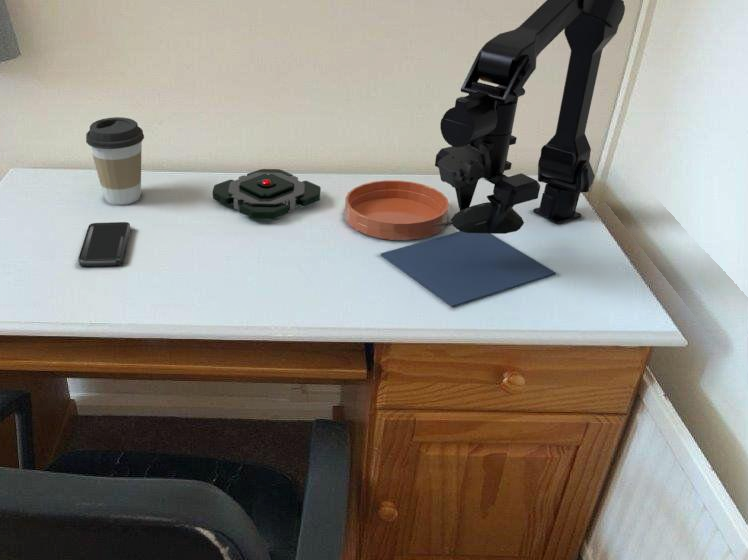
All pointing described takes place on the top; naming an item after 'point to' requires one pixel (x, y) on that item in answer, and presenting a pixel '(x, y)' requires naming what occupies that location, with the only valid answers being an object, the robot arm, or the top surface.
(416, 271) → the mouse mat
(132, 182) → the coffee cup
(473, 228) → the gaming mouse
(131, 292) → the top surface
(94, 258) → the phone
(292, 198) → the clover-shaped pad
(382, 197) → the terracotta plant saucer
